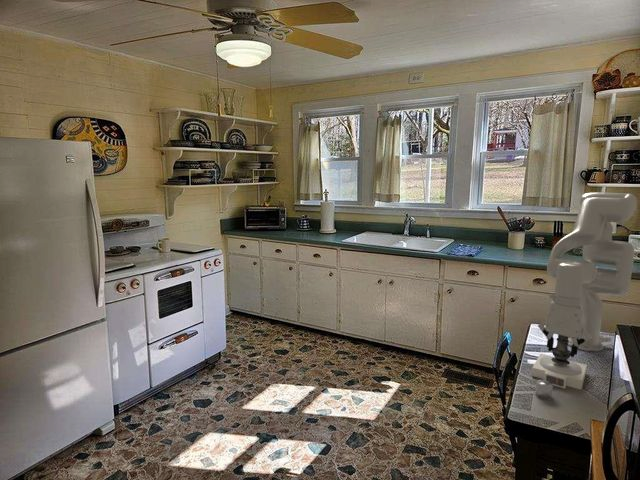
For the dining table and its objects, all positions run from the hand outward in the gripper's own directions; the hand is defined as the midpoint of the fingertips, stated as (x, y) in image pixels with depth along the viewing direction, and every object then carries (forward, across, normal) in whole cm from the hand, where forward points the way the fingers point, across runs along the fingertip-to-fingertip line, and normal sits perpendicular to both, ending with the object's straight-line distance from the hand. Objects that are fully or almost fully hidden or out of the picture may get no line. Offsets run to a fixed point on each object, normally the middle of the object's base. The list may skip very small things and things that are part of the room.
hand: (561, 352), depth 134 cm
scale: (+8, 0, -1) cm, 8 cm away
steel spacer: (+8, 0, -18) cm, 20 cm away
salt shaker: (+3, 0, 0) cm, 3 cm away
